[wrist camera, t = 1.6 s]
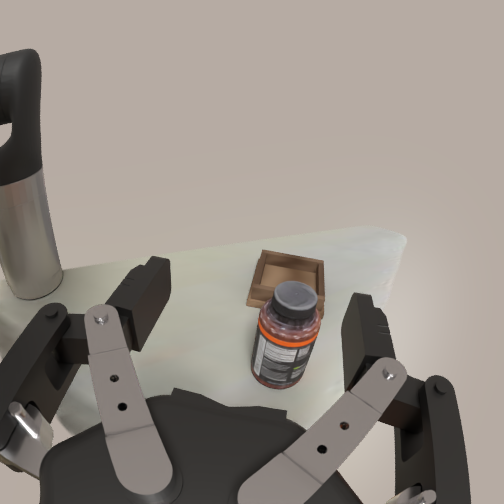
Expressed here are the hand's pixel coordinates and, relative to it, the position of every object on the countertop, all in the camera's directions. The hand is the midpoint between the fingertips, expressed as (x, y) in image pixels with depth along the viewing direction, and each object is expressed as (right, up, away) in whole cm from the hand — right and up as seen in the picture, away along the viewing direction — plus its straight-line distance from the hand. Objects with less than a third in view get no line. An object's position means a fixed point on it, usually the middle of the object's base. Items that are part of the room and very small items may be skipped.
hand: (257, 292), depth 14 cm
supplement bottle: (+3, -12, +21) cm, 24 cm away
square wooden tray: (+5, -4, +33) cm, 34 cm away
